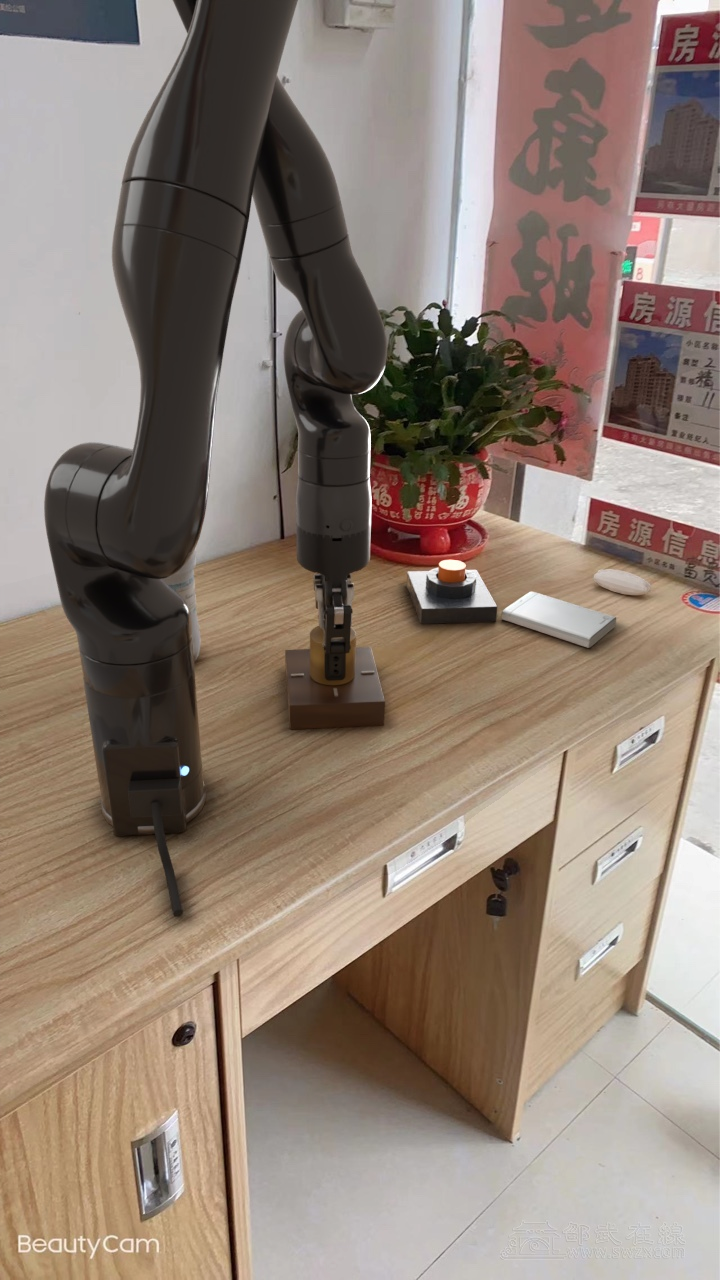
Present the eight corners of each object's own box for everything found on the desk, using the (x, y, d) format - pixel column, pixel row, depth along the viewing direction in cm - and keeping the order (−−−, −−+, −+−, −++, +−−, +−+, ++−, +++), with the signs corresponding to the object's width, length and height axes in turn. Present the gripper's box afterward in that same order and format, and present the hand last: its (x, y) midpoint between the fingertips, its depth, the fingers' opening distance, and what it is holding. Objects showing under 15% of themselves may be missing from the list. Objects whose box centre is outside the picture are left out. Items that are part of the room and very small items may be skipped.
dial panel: (384, 725, 94) (385, 700, 92) (289, 729, 93) (289, 704, 91) (370, 668, 104) (371, 645, 103) (285, 672, 103) (285, 648, 102)
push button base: (495, 621, 116) (498, 594, 114) (420, 624, 115) (422, 596, 113) (475, 583, 126) (477, 557, 124) (406, 585, 125) (407, 559, 123)
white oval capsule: (597, 580, 128) (600, 562, 127) (651, 595, 124) (654, 577, 123) (588, 587, 126) (591, 569, 125) (643, 602, 122) (646, 584, 121)
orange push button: (467, 584, 117) (468, 569, 116) (440, 584, 117) (441, 570, 116) (461, 573, 121) (462, 559, 120) (435, 573, 120) (436, 559, 119)
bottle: (191, 676, 102) (178, 512, 92) (137, 669, 103) (118, 506, 93) (211, 649, 108) (201, 492, 98) (159, 643, 109) (144, 487, 99)
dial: (357, 684, 95) (358, 641, 93) (311, 686, 95) (311, 643, 92) (353, 661, 99) (353, 620, 97) (308, 663, 99) (308, 621, 96)
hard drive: (617, 615, 115) (532, 589, 121) (589, 638, 109) (502, 609, 115) (615, 627, 115) (530, 600, 122) (587, 650, 110) (500, 620, 116)
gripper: (292, 496, 94) (295, 636, 102) (300, 546, 82) (301, 702, 90) (362, 494, 95) (359, 633, 103) (380, 545, 83) (374, 698, 91)
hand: (332, 664), depth 96 cm, fingers closed on dial, 5 cm apart
